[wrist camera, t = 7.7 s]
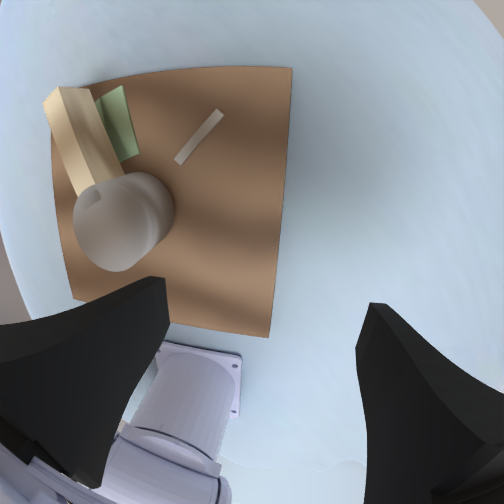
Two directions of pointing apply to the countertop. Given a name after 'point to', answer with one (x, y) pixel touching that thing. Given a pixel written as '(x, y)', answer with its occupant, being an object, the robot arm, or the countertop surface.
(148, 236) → the beige elongated block piece
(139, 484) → the robot arm
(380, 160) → the countertop surface
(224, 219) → the base
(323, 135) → the countertop surface
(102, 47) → the countertop surface
